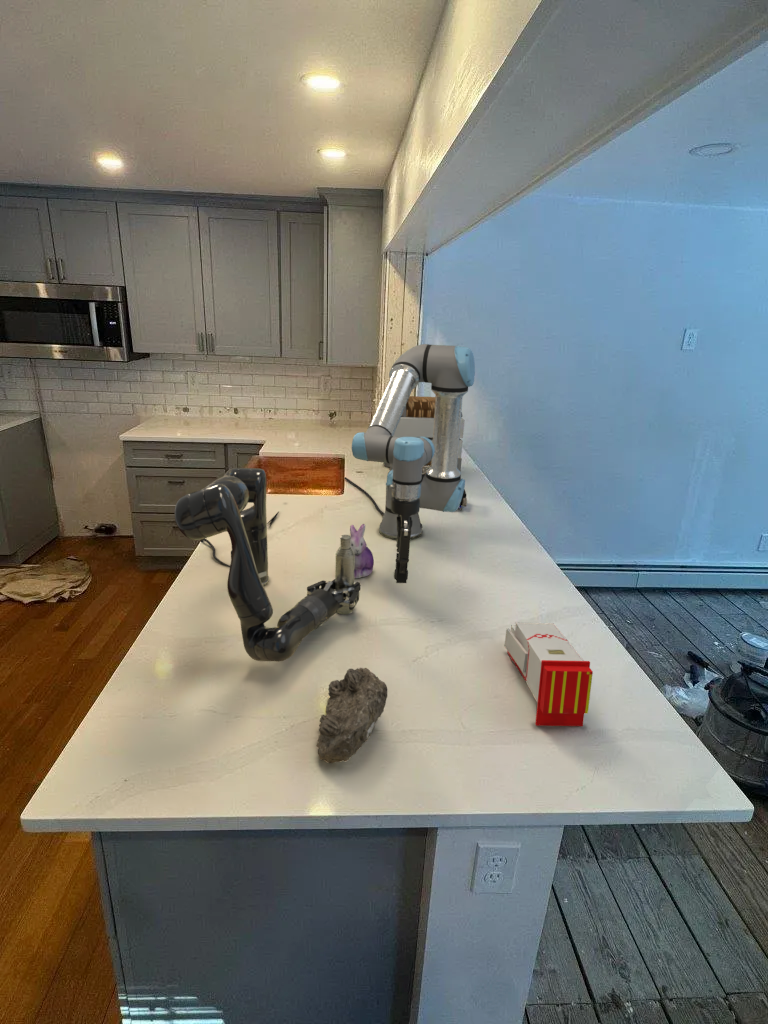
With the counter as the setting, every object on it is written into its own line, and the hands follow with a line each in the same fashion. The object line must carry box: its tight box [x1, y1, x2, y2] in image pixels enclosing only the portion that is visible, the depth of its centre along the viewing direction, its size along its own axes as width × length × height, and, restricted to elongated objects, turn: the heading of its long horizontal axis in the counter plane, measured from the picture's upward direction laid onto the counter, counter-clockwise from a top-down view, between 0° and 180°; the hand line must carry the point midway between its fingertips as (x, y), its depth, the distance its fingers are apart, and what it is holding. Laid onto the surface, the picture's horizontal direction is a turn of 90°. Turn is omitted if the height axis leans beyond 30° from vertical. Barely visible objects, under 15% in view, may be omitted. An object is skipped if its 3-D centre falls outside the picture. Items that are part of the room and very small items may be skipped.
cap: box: [393, 568, 409, 581], centre depth 154 cm, size 4×4×2 cm
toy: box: [503, 622, 594, 727], centre depth 121 cm, size 12×13×30 cm
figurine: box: [349, 523, 375, 579], centre depth 167 cm, size 9×10×15 cm
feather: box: [267, 512, 279, 529], centre depth 212 cm, size 2×28×2 cm
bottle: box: [334, 534, 355, 615], centre depth 145 cm, size 5×5×21 cm
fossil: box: [316, 667, 388, 764], centre depth 106 cm, size 22×10×15 cm
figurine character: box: [458, 488, 468, 511], centre depth 230 cm, size 7×8×15 cm
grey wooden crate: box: [382, 395, 465, 472], centre depth 268 cm, size 34×33×41 cm
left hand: (349, 582), depth 148 cm, fingers closed on bottle, 5 cm apart
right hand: (400, 578), depth 155 cm, fingers closed on cap, 4 cm apart
